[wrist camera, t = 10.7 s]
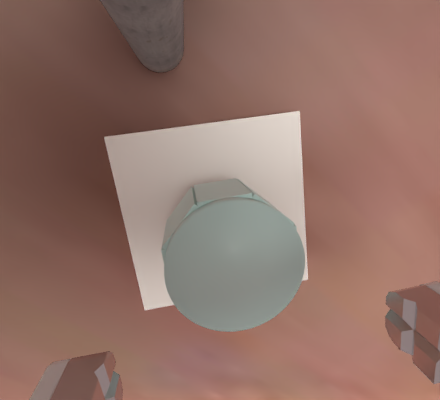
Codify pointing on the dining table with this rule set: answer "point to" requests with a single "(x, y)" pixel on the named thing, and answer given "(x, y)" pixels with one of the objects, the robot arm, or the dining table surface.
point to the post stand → (201, 179)
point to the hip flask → (151, 30)
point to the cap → (230, 257)
